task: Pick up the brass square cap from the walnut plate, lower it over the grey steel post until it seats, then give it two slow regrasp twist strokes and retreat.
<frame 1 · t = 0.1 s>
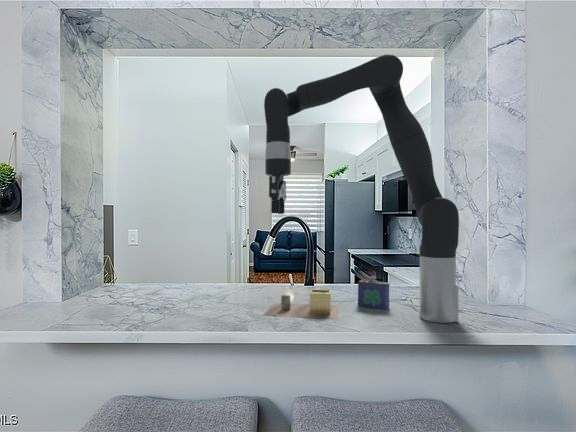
hand: (278, 213, 104), 29 cm above the worktop, fingers open, 8 cm apart
clover print carton: (373, 312, 103), on the worktop
cap: (320, 311, 99), point 1 cm above the worktop, touching bolt base
bolt base: (303, 315, 99), on the worktop
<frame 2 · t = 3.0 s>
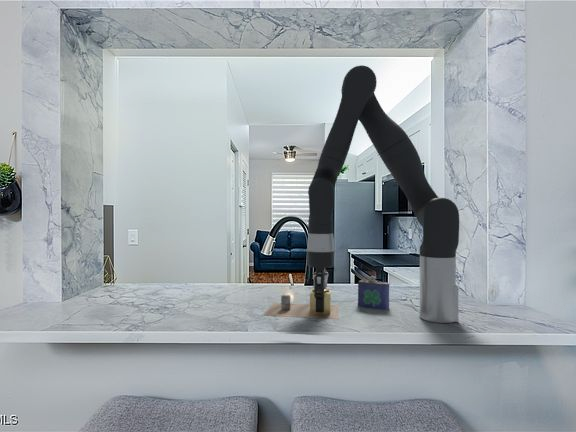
hand: (320, 309, 99), 2 cm above the worktop, fingers closed on cap, 5 cm apart
cap: (320, 311, 99), point 1 cm above the worktop, touching bolt base, gripper
everything else where it was.
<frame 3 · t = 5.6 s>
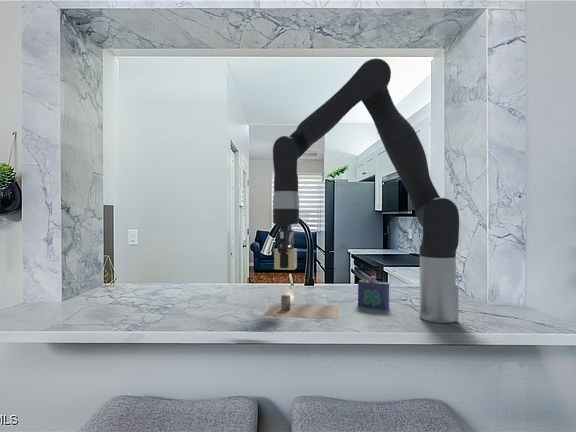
hand: (285, 266, 100), 14 cm above the worktop, fingers closed on cap, 5 cm apart
cap: (285, 268, 100), point 13 cm above the worktop, touching gripper
everything else where it was.
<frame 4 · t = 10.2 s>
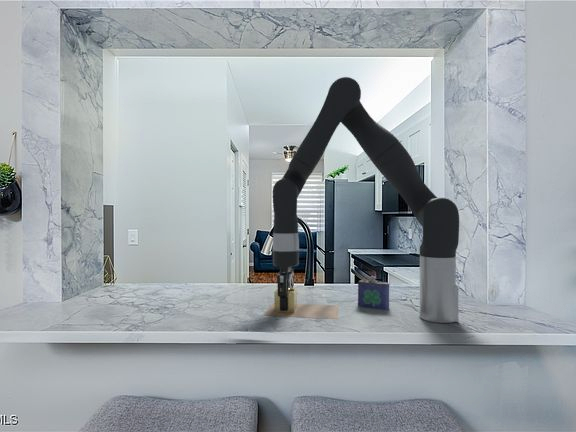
hand: (285, 307, 100), 2 cm above the worktop, fingers closed on cap, 5 cm apart
cap: (285, 309, 100), point 2 cm above the worktop, touching bolt base, gripper
everything else where it was.
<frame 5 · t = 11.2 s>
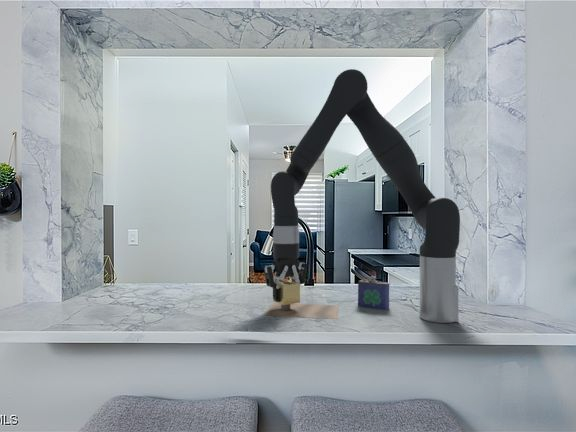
hand: (286, 299, 101), 4 cm above the worktop, fingers closed on cap, 5 cm apart
cap: (286, 301, 101), point 4 cm above the worktop, touching gripper
everything else where it was.
when the fingers open (2 cm above the worktop, at t = 12.6 s): cap stays where it is, resting on bolt base.
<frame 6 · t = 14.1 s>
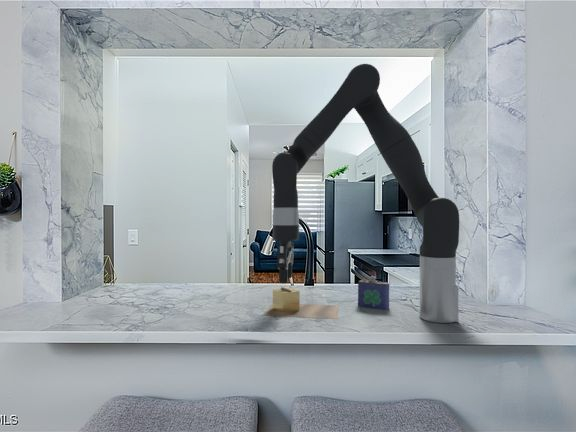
hand: (285, 280, 100), 10 cm above the worktop, fingers open, 8 cm apart
cap: (285, 309, 100), point 1 cm above the worktop, touching bolt base
everything else where it was.
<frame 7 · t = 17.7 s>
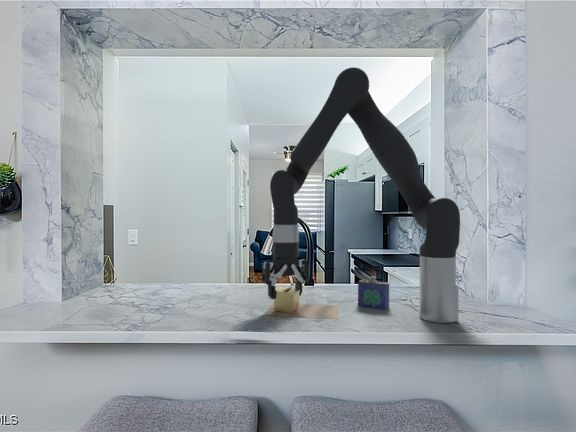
hand: (285, 297, 100), 5 cm above the worktop, fingers open, 8 cm apart
cap: (286, 309, 99), point 2 cm above the worktop, touching bolt base, gripper
everything else where it was.
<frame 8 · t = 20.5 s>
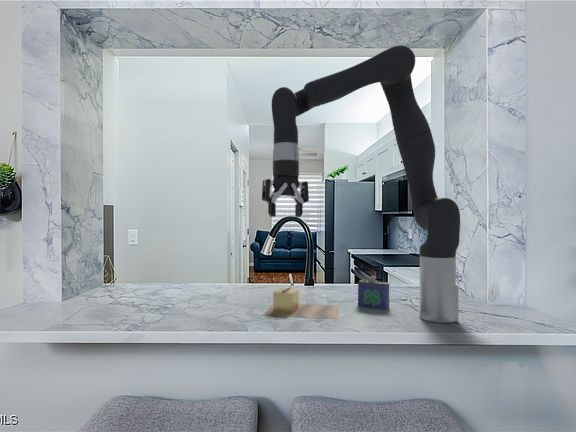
hand: (285, 216, 100), 28 cm above the worktop, fingers open, 8 cm apart
cap: (286, 310, 100), point 1 cm above the worktop, touching bolt base
everything else where it was.
at the end: cap 0.6 cm from the target spot on the bolt base, point 1.5 cm above the bolt base's base; cap tilted 0°; the gripper is holding nothing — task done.
